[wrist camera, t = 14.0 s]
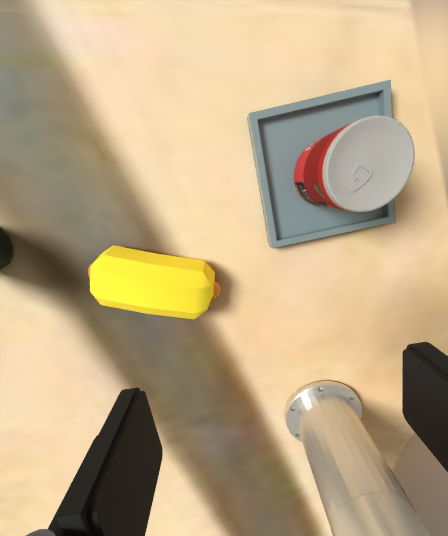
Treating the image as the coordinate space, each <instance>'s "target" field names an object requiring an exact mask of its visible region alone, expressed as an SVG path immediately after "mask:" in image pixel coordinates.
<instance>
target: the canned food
mask: <svg viewBox="0 0 448 536" xmlns="http://www.w3.org/2000/svg"><path fill="white" fill-rule="evenodd" d="M414 157H415V151H414V144H413V140H412V137H411V135H410V133H409V132H408V130H407V129H406V128H405V126H404V125H403V124H402V123H400V122H399V121H397V120H396V119H394V118H391V117H387V116H378V115H376V116H370V117H366V118H362V119H360V120H357V121H354V122H352V123H350V124H348V125H346V126H344V127H342V128H340V129H338V130H336V131H334V132H332V133H330V134H328V135H326V136H324V137H322V138H320V139H318V140H316V141H315V142H313V143H311V144H310V145H309V146H308V147H307V148H305V149H304V151H303V152H302V153H301V155H300V156H299V158H298V160H297V162H296V165H295V170H294V183H295V187H296V190H297V192H298V193H299V195H300V196H301V197H302V198H303V199H304V200H305V201H306V202H308V203H310V204H313V205H318V206H323V207H328V208H334V209H339V210H344V211H351V212H366V211H372V210H375V209H378V208H380V207H382V206H384V205H386V204H387V203H389V202H390V201H391V200H393V199H394V198H395V197H396V196H397V195H398V194H399V193H400V192H401V190H402V189H403V188H404V186H405V185H406V183H407V181H408V179H409V177H410V175H411V172H412V169H413V165H414Z"/></svg>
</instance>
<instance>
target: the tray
mask: <svg viewBox="0 0 448 536" xmlns="http://www.w3.org/2000/svg"><path fill="white" fill-rule="evenodd" d="M376 115H378V116H387V117H391V118H392V106H391V80H388V81H383V82H379V83H375V84H371V85H367V86H362V87H358V88H354V89H350V90H346V91H341V92H337V93H333V94H329V95H325V96H320V97H316V98H312V99H308V100H303V101H299V102H295V103H291V104H287V105H282V106H278V107H274V108H270V109H266V110H261V111H257V112H253V113H249V115H248V117H247V119H248V125H249V131H250V137H251V142H252V148H253V154H254V160H255V166H256V172H257V177H258V183H259V189H260V195H261V201H262V207H263V213H264V218H265V224H266V230H267V236H268V242H269V246H270V247H271V248H276V247H280V246H285V245H290V244H294V243H299V242H304V241H308V240H313V239H317V238H322V237H327V236H331V235H336V234H341V233H345V232H350V231H355V230H359V229H364V228H369V227H373V226H378V225H383V224H387V223H392V222H395V202H394V199H393V200H391V201H390V202H389V203H387V204H386V205H384V206H382V207H380V208H378V209H375V210H372V211H366V212H351V211H344V210H339V209H334V208H328V207H323V206H318V205H313V204H310V203H308V202H306V201H305V200H304V199H303V198H302V197H301V196H300V195H299V193H298V192H297V190H296V187H295V183H294V170H295V165H296V162H297V160H298V158H299V156H300V155H301V153H302V152H303V151H304V149H305V148H307V147H308V146H309V145H310V144H311V143H313V142H315V141H316V140H318V139H320V138H322V137H324V136H326V135H328V134H330V133H332V132H334V131H336V130H338V129H340V128H342V127H344V126H346V125H348V124H350V123H352V122H354V121H357V120H360V119H362V118H366V117H370V116H376Z"/></svg>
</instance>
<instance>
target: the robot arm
mask: <svg viewBox="0 0 448 536" xmlns="http://www.w3.org/2000/svg"><path fill="white" fill-rule="evenodd" d="M403 415H404V417H405V419H406V421H407V423H408V424H409V425H410V426H411V428H412V429H413V430H414V431H415V433H416V434H417V435H418V436H419V437H420V439H421V440H422V441H423V442H424V444H425V445H426V446H427V447H428V449H429V450H430V451H431V452H432V453H433V455H434V456H435V457H436V458H437V460H438V461H439V462H440V463H441V465H442V466H443V467H444V468H445V469H446V471H447V472H448V356H447V355H445V354H444V353H443V352H441V351H440V350H438V349H437V348H436V347H434V346H433V345H431V344H430V343H428V342H421V343H415V344H409V345H408V346H407V348H406V349H405V350H404V351H403ZM361 417H362V405H361V402H360V400H359V398H358V397H357V395H356V394H355V392H354V391H353V390H352V389H351V388H349V387H348V386H346V385H344V384H342V383H339V382H334V381H320V382H315V383H311V384H309V385H307V386H305V387H303V388H301V389H300V390H298V391H297V392H296V393H295V394H294V395H293V396H292V397H291V399H290V400H289V402H288V404H287V406H286V409H285V420H286V424H287V427H288V429H289V431H290V433H291V434H292V435H293V436H294V437H295V438H296V439H298V440H299V441H301V442H303V446H304V449H305V452H306V455H307V458H308V461H309V464H310V467H311V470H312V473H313V476H314V479H315V482H316V485H317V488H318V491H319V494H320V497H321V500H322V503H323V506H324V509H325V512H326V515H327V518H328V521H329V524H330V527H331V531H332V534H333V536H432V535H431V534H430V532H429V531H428V530H427V528H426V526H425V524H424V523H423V521H422V520H421V518H420V516H419V515H418V513H417V511H416V510H415V508H414V506H413V505H412V504H411V502H410V500H409V499H408V497H407V495H406V493H405V492H404V490H403V489H402V487H401V485H400V484H399V482H398V481H397V479H396V477H395V476H394V474H393V472H392V471H391V469H390V467H389V466H388V464H387V463H386V461H385V459H384V458H383V456H382V454H381V453H380V451H379V450H378V448H377V446H376V445H375V443H374V441H373V440H372V438H371V437H370V435H369V433H368V432H367V430H366V428H365V427H364V425H363V423H362V422H361ZM161 461H162V445H161V442H160V439H159V436H158V432H157V429H156V426H155V423H154V419H153V416H152V413H151V410H150V406H149V403H148V400H147V397H146V394H145V392H144V391H140V389H139V388H131V389H125V390H122V391H121V392H120V394H119V396H118V398H117V400H116V402H115V404H114V406H113V408H112V410H111V412H110V414H109V415H108V417H107V419H106V421H105V423H104V425H103V427H102V429H101V431H100V433H99V435H98V436H96V438H95V439H94V441H93V443H92V445H91V447H90V448H89V450H88V452H87V454H86V456H85V458H84V460H83V462H82V464H81V466H80V468H79V470H78V472H77V474H76V476H75V477H74V479H73V481H72V483H71V485H70V487H69V489H68V491H67V493H66V495H65V497H64V499H63V501H62V503H61V504H60V506H59V508H58V510H57V512H56V514H55V516H54V518H53V520H52V522H51V524H50V526H49V528H48V529H40V530H37V531H34V532H32V533H29V534H28V535H26V536H145V533H146V528H147V524H148V519H149V515H150V510H151V506H152V502H153V497H154V493H155V488H156V484H157V479H158V475H159V470H160V466H161Z"/></svg>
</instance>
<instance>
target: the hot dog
mask: <svg viewBox="0 0 448 536" xmlns="http://www.w3.org/2000/svg"><path fill="white" fill-rule="evenodd" d="M88 276H89V278H90V292H91V293H92V294H93V296H94V297H95V298H96V299H97V301H98V302H99V303H100V305H105V306H110V307H115V308H120V309H126V310H131V311H136V312H141V313H146V314H155V315H163V316H172V317H180V318H189V319H195V318H197V317H198V316H199V315H201V314H202V313H203V312H205V311H206V310H207V309H208V306H209V304H210V301H211V299H216V298H217V297H218V296H219V294H220V293H221V289H220V285H219V283H217V282H215V272H214V271H213V270H212V268H211V267H210V266H209V265H208V264H207V263H206V262H205V261H202V260H196V259H189V258H182V257H175V256H169V255H162V254H156V253H151V252H146V251H140V250H135V249H130V248H125V247H119V246H114V245H113V246H112V247H110V248H109V249H107V250H106V251H105V252H103V253H102V254H101V255H100V256H99V257H98V258H97V260H96V261H95V262H94V263H92V264H91V265H90V267H89V269H88Z"/></svg>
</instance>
